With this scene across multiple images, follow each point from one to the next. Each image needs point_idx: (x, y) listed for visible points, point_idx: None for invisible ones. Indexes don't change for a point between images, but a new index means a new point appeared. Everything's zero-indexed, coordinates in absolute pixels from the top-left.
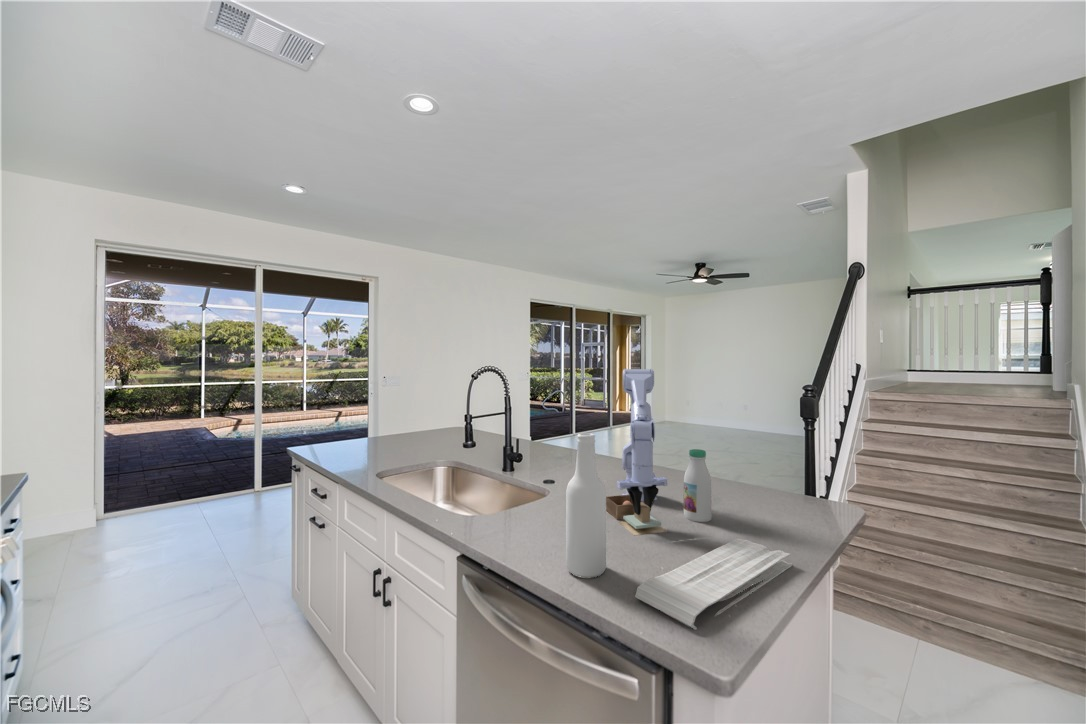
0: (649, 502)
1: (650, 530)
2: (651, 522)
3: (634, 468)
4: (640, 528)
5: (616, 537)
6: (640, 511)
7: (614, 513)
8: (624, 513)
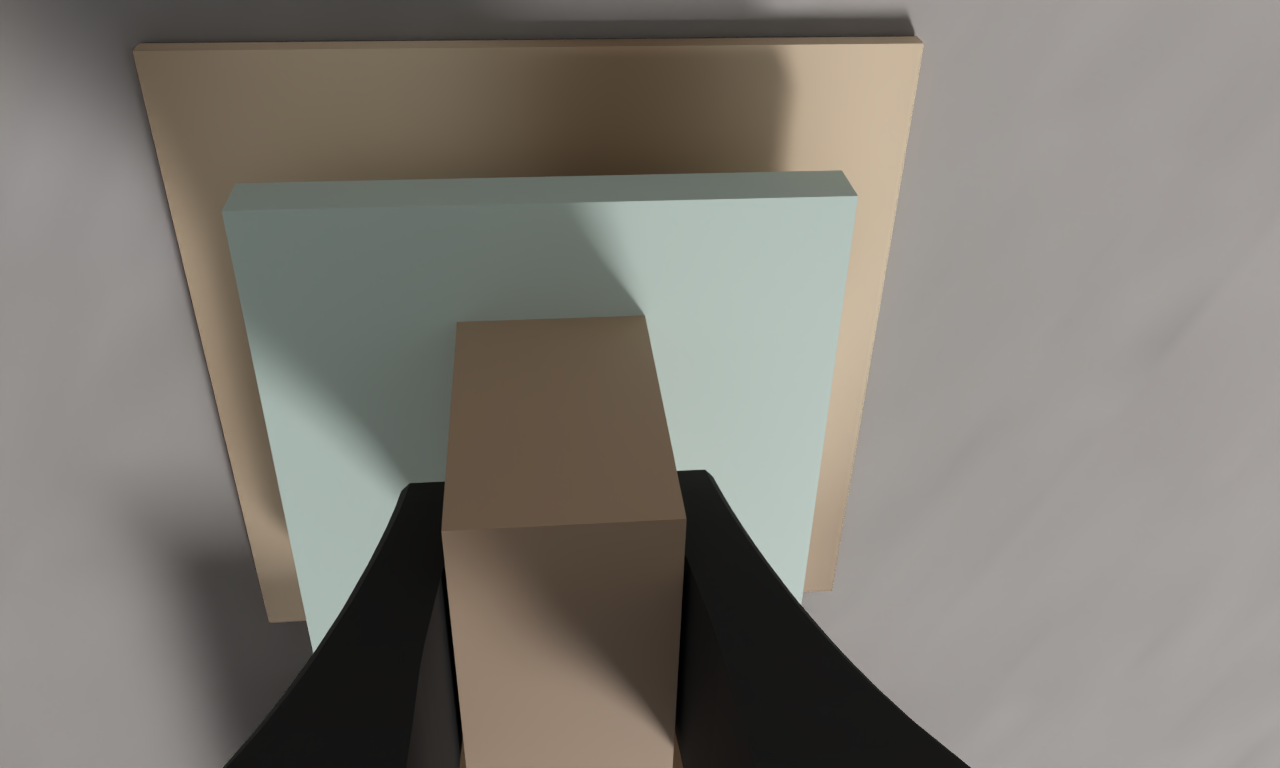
0: (422, 665)
1: (491, 175)
2: (438, 287)
3: None
4: None
5: (1238, 78)
6: None
7: None
8: None
